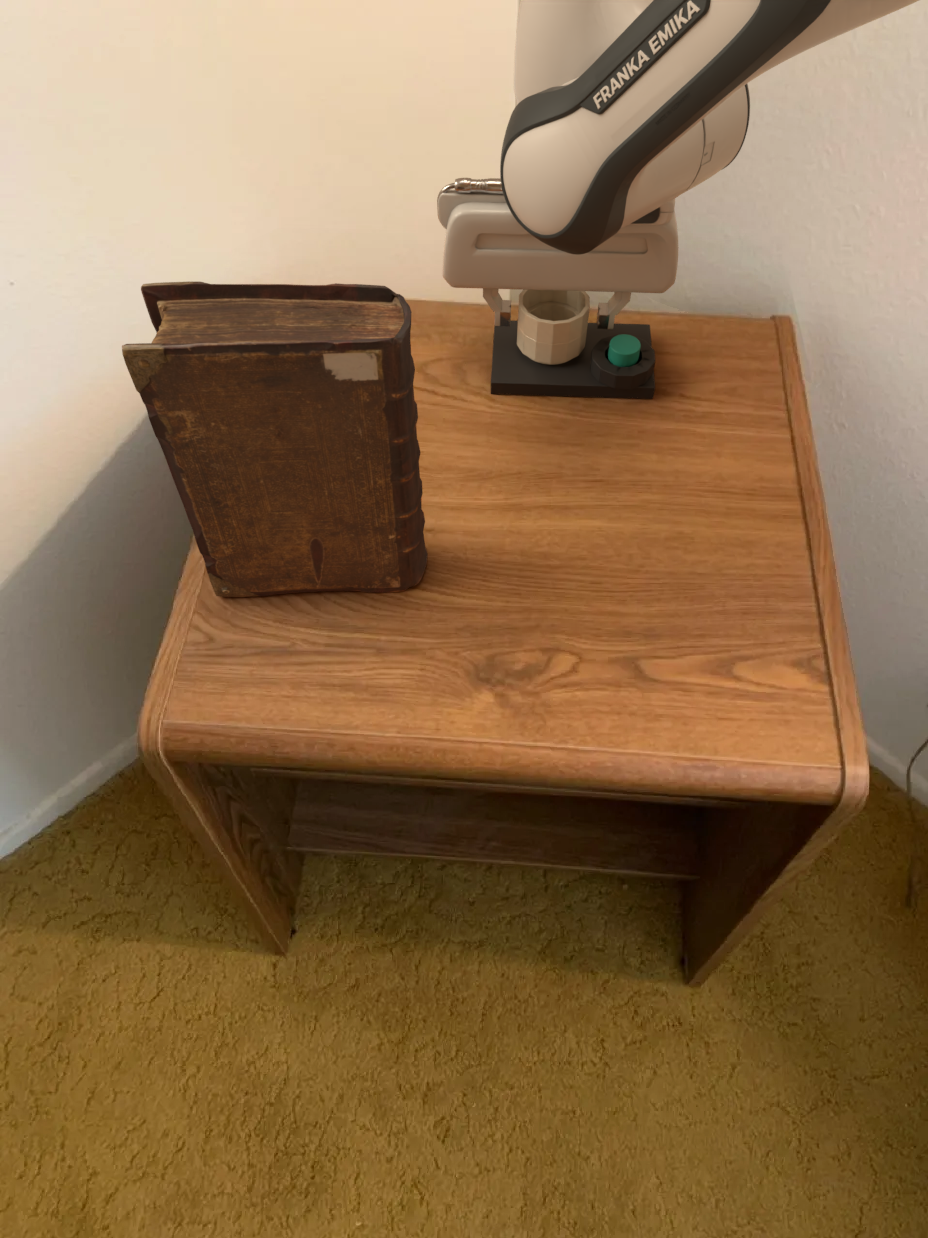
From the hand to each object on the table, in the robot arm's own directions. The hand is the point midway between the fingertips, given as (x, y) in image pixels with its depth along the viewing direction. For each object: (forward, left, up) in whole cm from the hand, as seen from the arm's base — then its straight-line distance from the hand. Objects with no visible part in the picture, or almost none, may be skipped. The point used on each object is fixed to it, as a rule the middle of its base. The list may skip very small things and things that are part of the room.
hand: (553, 323), depth 86 cm
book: (+18, +27, -4) cm, 33 cm away
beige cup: (0, 0, -2) cm, 2 cm away
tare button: (-6, +3, -1) cm, 7 cm away
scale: (-2, +1, -4) cm, 4 cm away
